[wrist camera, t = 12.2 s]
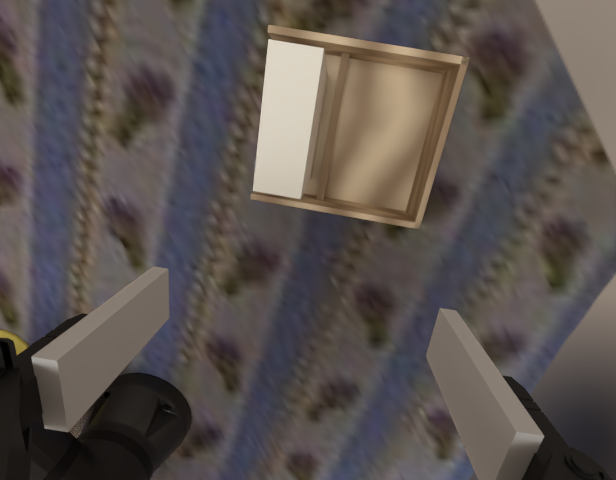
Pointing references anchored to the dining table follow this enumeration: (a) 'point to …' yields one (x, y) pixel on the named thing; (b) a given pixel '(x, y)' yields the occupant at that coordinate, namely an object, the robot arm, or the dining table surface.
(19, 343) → the candle
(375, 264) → the dining table surface
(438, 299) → the dining table surface
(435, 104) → the cabinet carcass
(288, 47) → the plain off-white rectangular block
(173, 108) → the dining table surface
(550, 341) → the dining table surface
